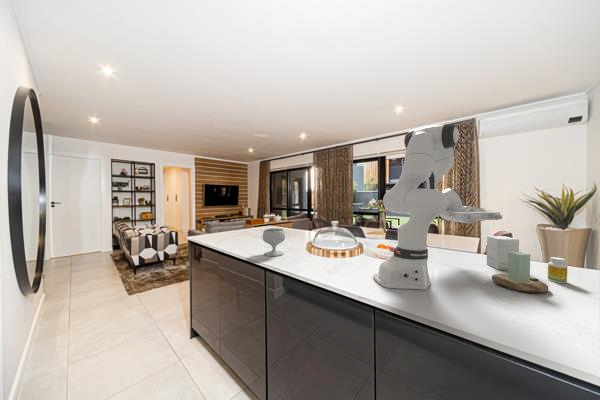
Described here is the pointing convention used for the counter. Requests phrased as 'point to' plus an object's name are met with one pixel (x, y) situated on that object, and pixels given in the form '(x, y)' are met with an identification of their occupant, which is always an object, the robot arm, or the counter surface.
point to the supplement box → (500, 250)
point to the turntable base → (519, 290)
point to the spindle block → (519, 267)
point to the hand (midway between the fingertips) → (491, 217)
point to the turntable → (532, 286)
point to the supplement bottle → (557, 270)
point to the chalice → (274, 240)
